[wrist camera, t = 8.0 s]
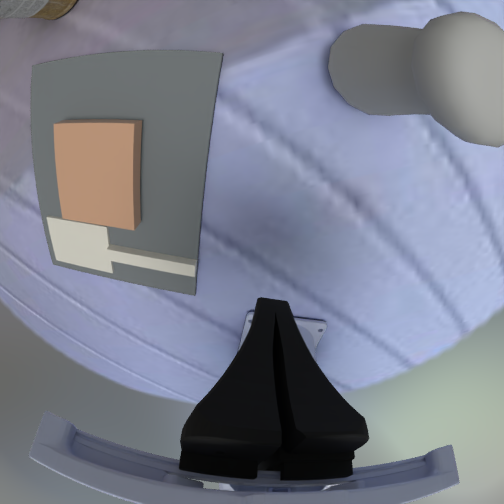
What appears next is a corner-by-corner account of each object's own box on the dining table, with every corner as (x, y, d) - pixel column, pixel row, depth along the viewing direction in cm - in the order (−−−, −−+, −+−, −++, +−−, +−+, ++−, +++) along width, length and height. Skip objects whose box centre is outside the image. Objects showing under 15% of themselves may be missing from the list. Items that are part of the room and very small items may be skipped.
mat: (195, 292, 26) (194, 295, 26) (54, 262, 25) (52, 264, 25) (223, 53, 15) (222, 53, 14) (35, 65, 14) (32, 65, 14)
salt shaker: (327, 20, 13) (425, -54, 2) (407, 45, 13) (557, 49, 2) (315, 100, 16) (401, 147, 6) (394, 120, 16) (529, 200, 6)
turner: (198, 240, 22) (196, 246, 22) (195, 287, 25) (193, 293, 25) (48, 215, 22) (43, 219, 21) (57, 258, 24) (53, 262, 24)
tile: (134, 230, 20) (62, 218, 20) (142, 220, 22) (72, 209, 21) (134, 123, 16) (53, 123, 15) (143, 119, 17) (65, 119, 17)
